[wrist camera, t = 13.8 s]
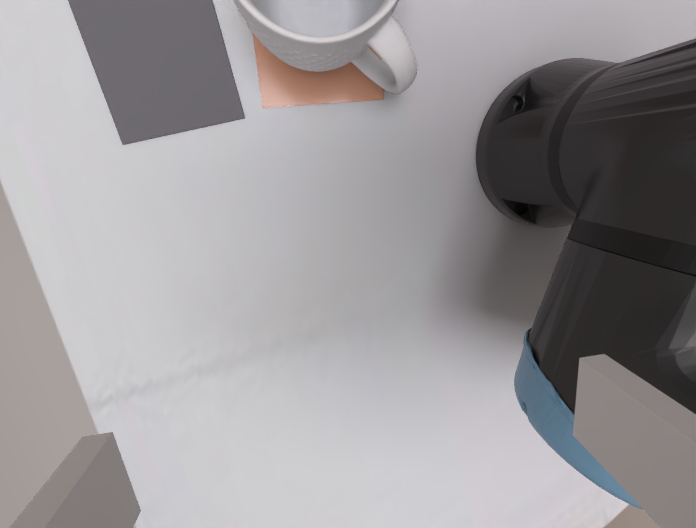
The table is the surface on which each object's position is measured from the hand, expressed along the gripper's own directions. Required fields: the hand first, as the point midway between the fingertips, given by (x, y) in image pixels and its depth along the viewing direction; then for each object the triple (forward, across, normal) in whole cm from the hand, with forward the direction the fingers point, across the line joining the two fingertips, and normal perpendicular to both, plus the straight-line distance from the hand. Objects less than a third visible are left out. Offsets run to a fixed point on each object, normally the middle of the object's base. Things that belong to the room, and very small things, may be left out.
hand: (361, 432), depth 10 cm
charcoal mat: (+28, +12, -17) cm, 35 cm away
